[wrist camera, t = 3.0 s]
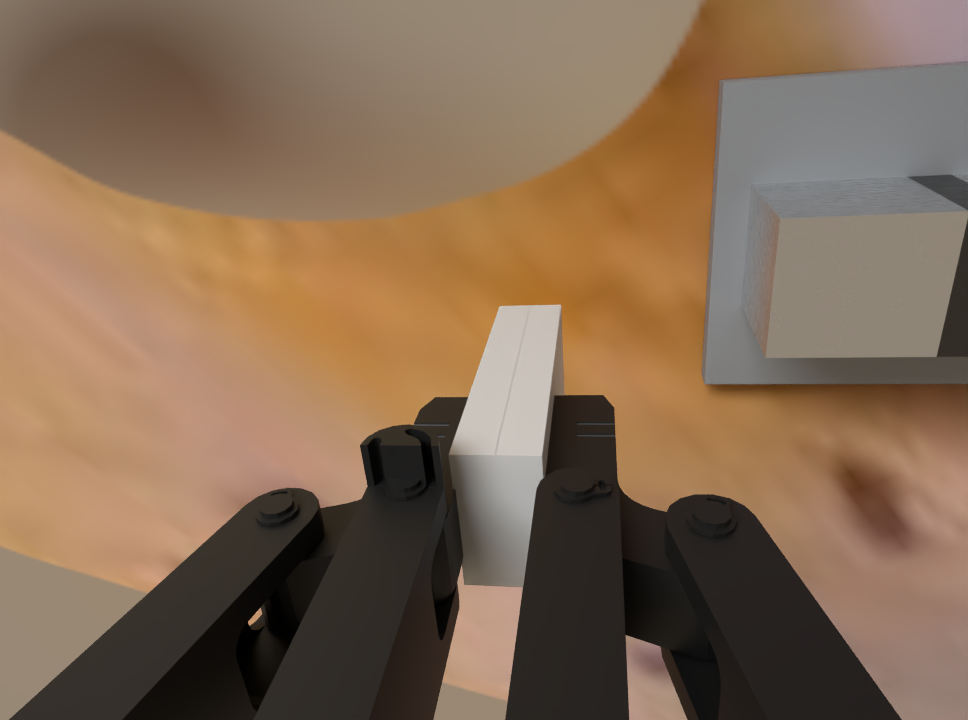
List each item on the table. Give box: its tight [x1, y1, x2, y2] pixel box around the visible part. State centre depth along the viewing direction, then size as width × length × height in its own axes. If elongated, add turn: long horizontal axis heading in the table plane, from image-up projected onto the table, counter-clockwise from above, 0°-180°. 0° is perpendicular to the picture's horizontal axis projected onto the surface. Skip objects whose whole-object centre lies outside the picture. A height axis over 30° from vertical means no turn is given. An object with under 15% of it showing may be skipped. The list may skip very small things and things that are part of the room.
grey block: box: [741, 174, 968, 358], centre depth 20 cm, size 10×4×4 cm, turn 94°
